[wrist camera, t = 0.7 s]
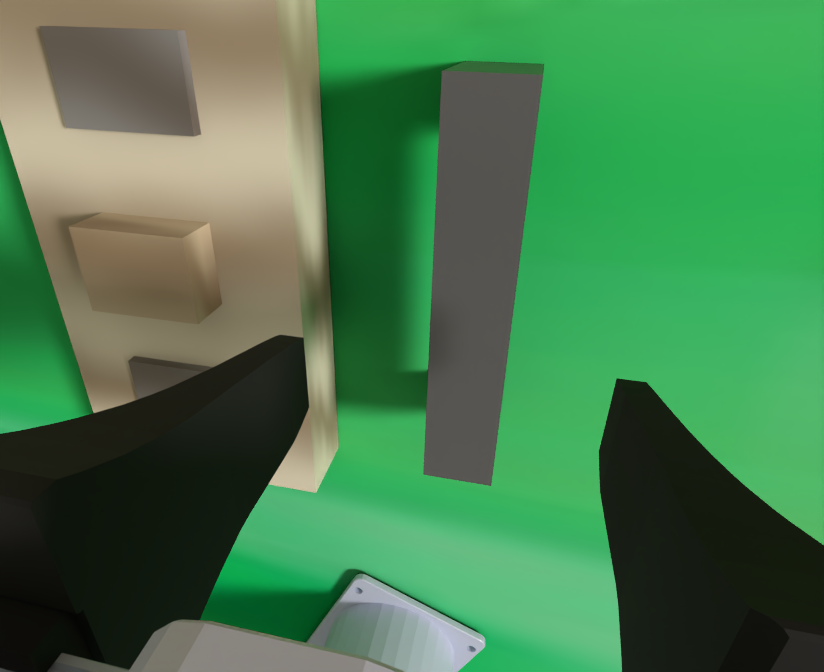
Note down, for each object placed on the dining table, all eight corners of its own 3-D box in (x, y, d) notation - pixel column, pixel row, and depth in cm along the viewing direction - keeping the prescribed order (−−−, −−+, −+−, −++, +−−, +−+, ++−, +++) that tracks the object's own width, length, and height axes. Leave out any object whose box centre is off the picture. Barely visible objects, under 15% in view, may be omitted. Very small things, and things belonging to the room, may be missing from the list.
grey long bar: (500, 409, 23) (490, 485, 19) (443, 401, 24) (423, 474, 20) (543, 64, 17) (542, 74, 13) (465, 60, 17) (441, 70, 13)
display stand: (338, 447, 26) (301, 521, 22) (147, 415, 28) (81, 479, 24) (311, -80, 16) (236, -114, 12) (19, -79, 18) (-128, -108, 14)
